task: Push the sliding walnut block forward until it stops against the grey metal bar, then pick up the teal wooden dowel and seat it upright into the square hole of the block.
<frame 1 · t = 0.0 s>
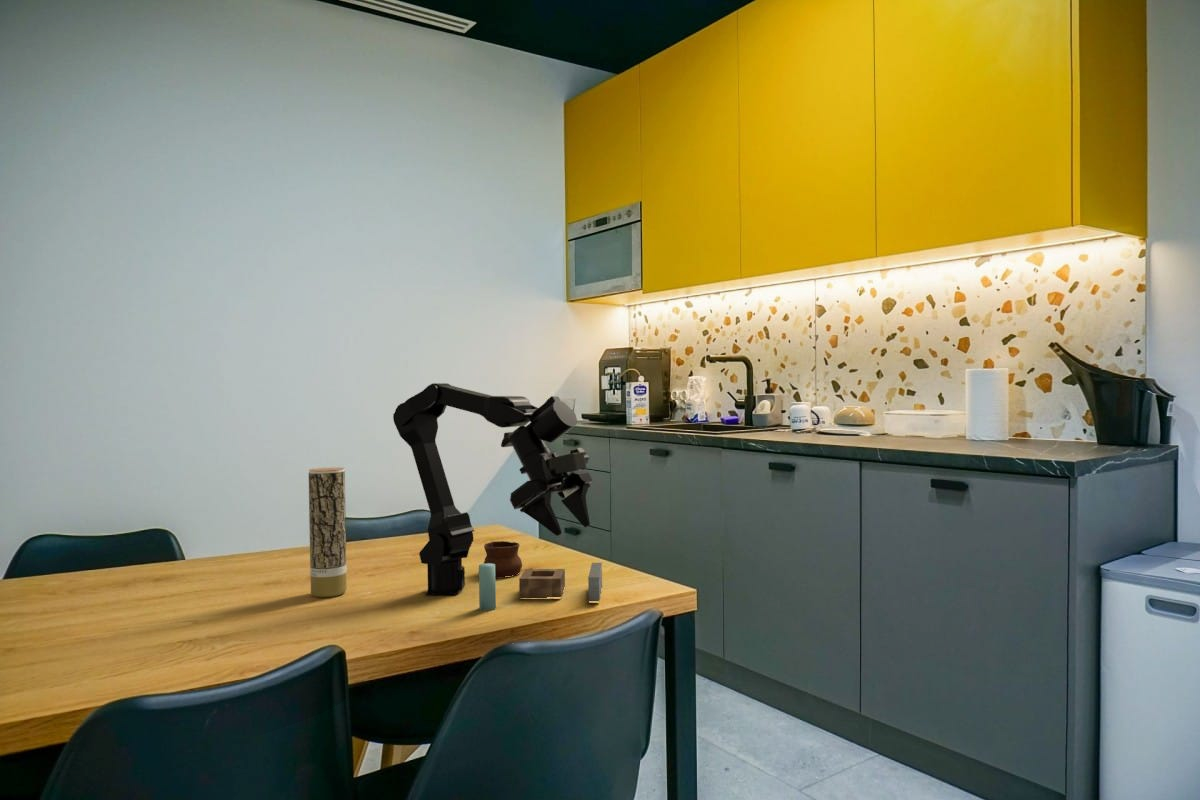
hand: (574, 530, 137), 15 cm above the table, tool tilted 35°, fingers open, 9 cm apart
block: (542, 583, 150), point 2 cm above the table, slide at 0.0 cm
ceramic pot: (502, 576, 168), on the table
dowel: (487, 608, 141), on the table
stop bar: (595, 595, 149), on the table
paper tube: (328, 595, 153), on the table
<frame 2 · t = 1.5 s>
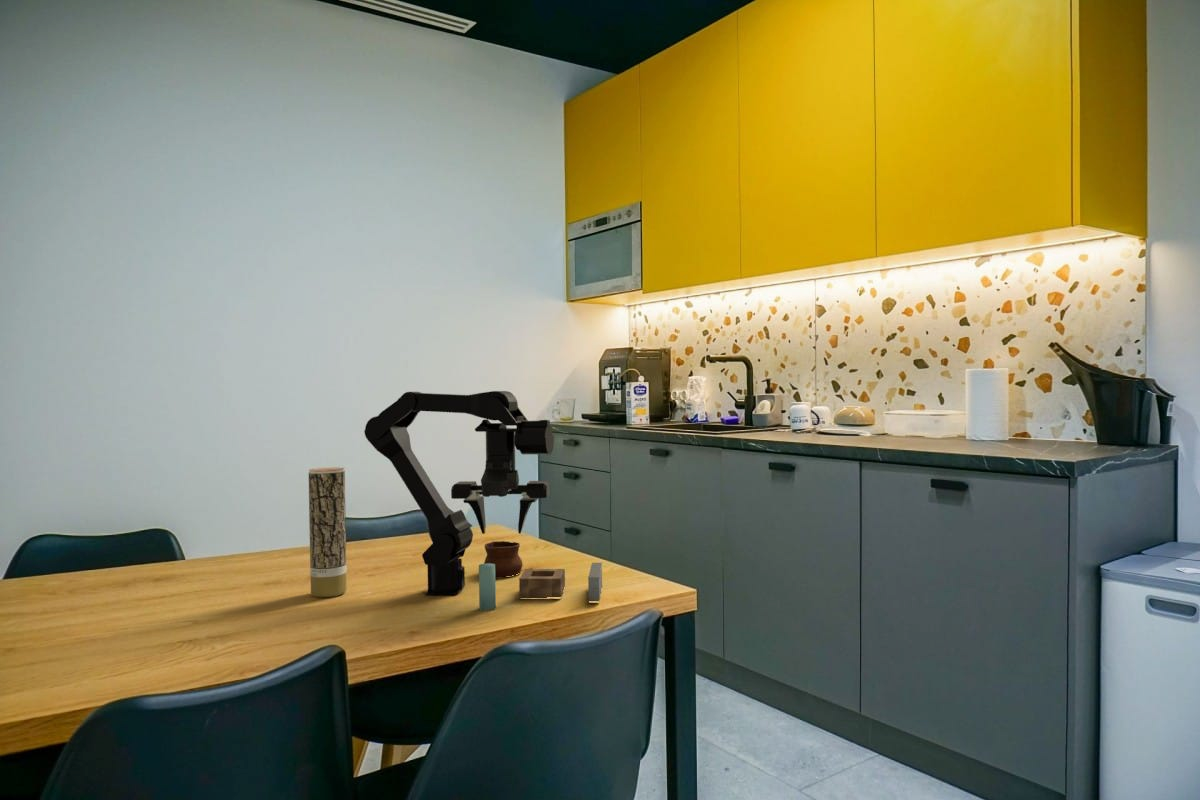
hand: (501, 533, 151), 12 cm above the table, tool pointing down, fingers open, 7 cm apart
nothing on the table moved.
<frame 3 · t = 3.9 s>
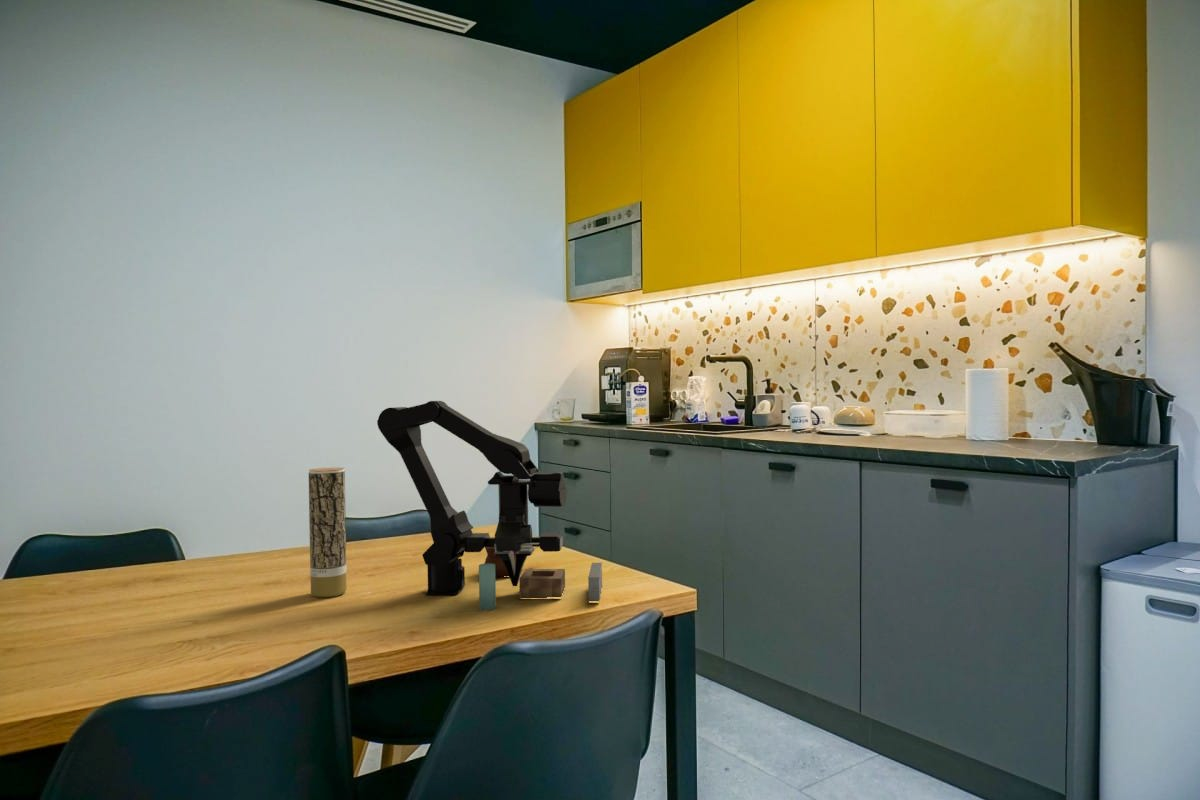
hand: (515, 585, 151), 2 cm above the table, tool pointing down, fingers closed
block: (542, 583, 150), point 2 cm above the table, slide at 0.0 cm, touching gripper
everything else where it was.
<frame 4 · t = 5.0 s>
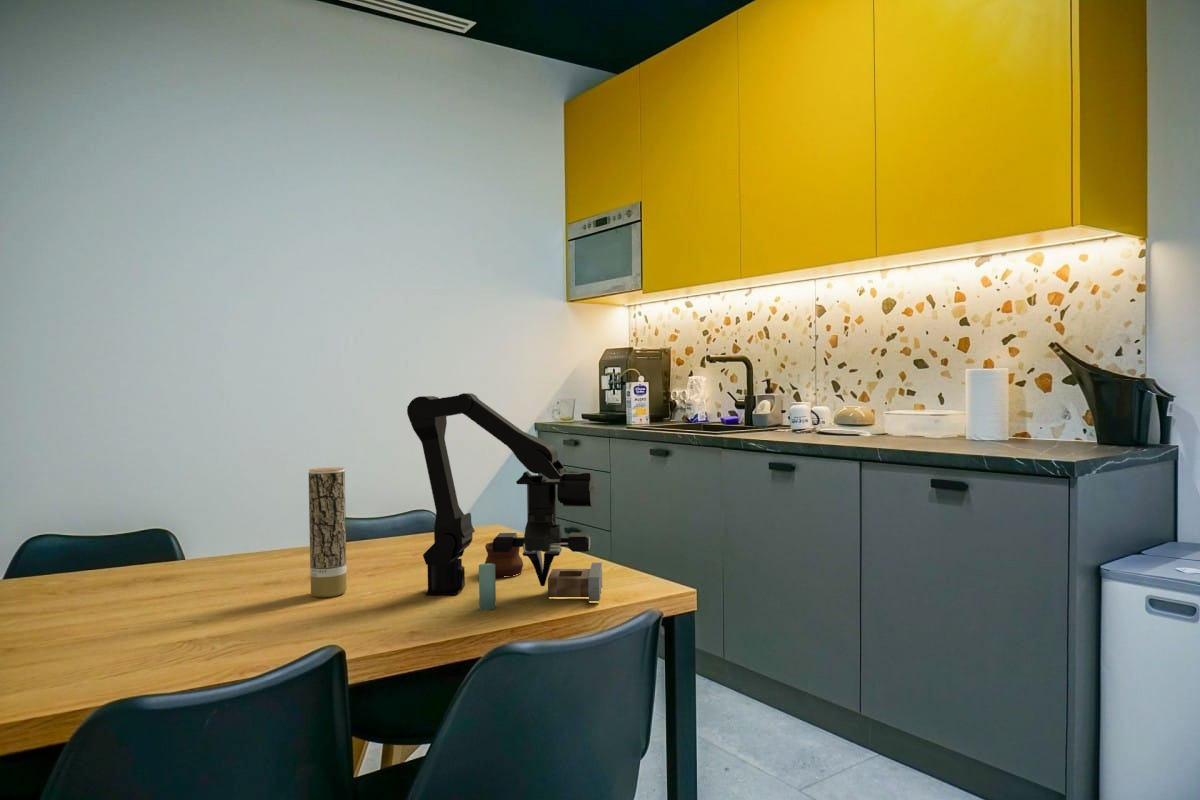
hand: (542, 585, 150), 2 cm above the table, tool pointing down, fingers closed
block: (570, 583, 150), point 2 cm above the table, slide at 5.5 cm, touching gripper, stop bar
everything else where it was.
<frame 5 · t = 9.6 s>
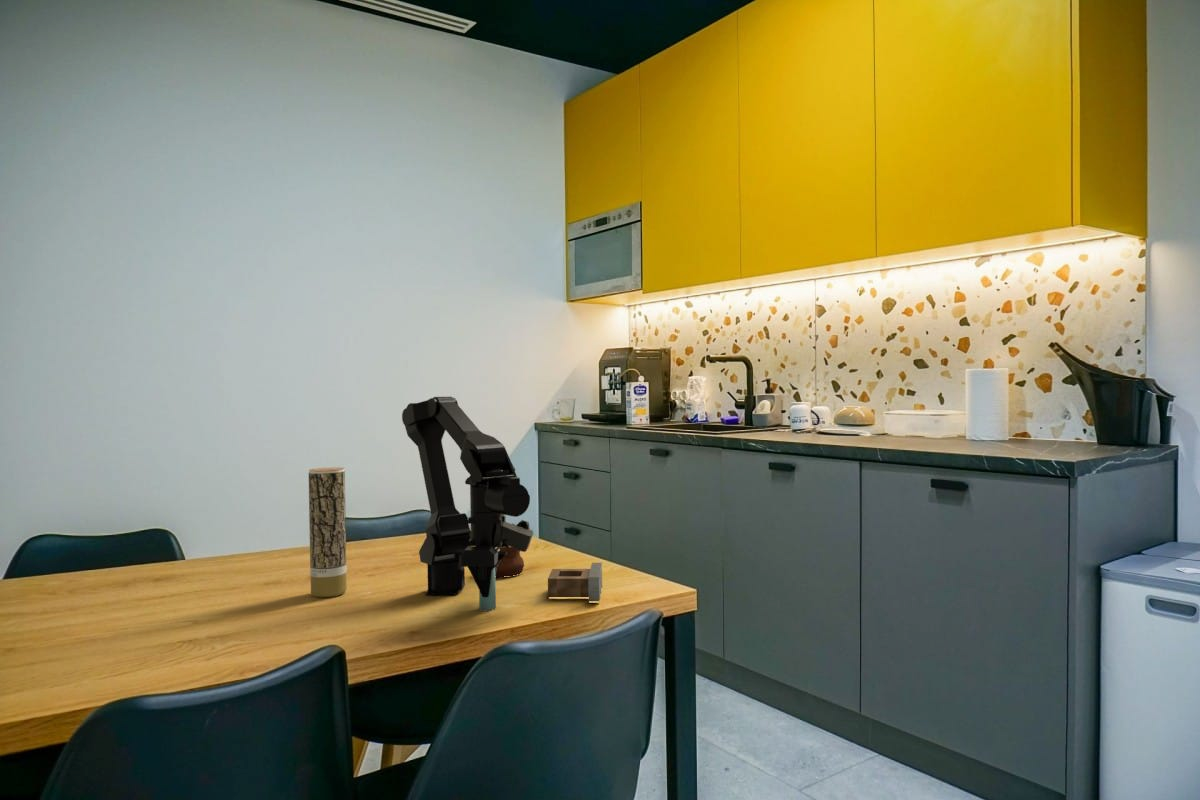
hand: (487, 594, 141), 3 cm above the table, tool pointing down, fingers closed on dowel, 3 cm apart
block: (570, 583, 150), point 2 cm above the table, slide at 5.5 cm, touching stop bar
dowel: (487, 608, 141), on the table, touching gripper
everything else where it was.
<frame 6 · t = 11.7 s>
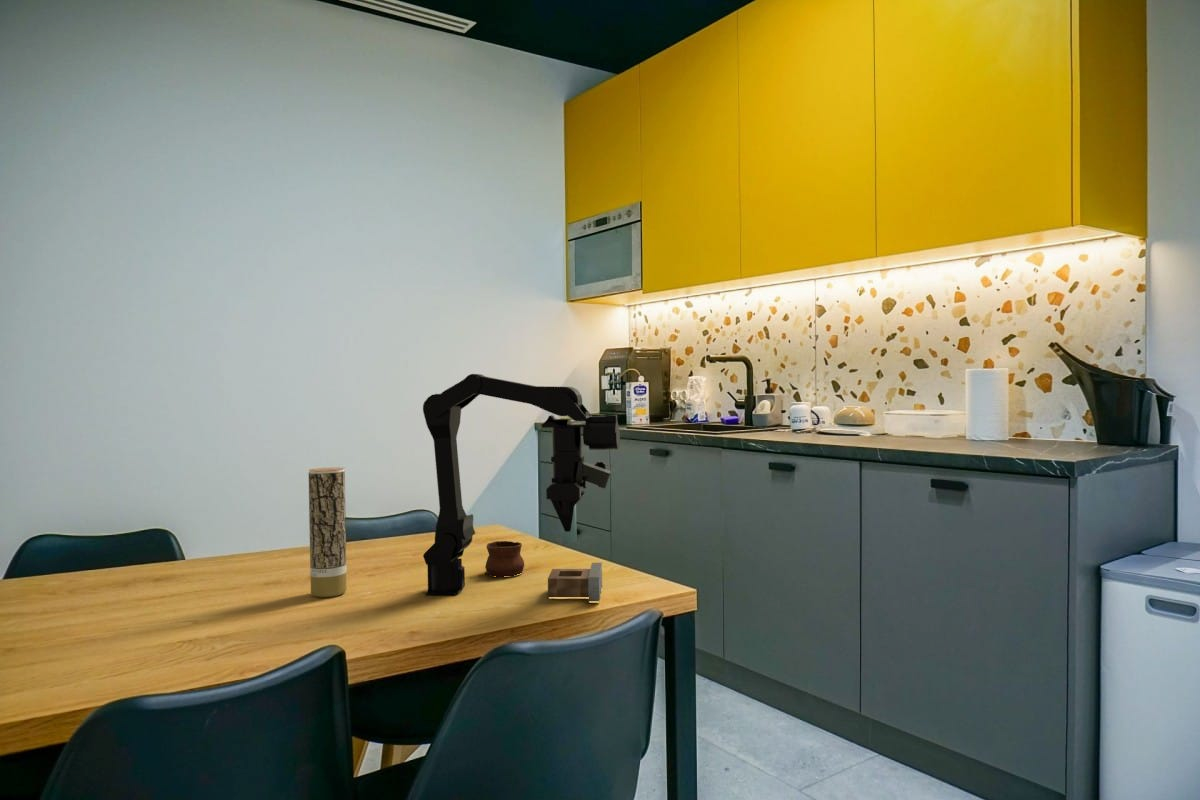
hand: (568, 529, 150), 13 cm above the table, tool pointing down, fingers closed on dowel, 3 cm apart
dowel: (569, 542, 150), point 10 cm above the table, touching gripper
everything else where it was.
when the fingers open (5 cm above the table, at t = 13.7 s): dowel drops 2 cm, resting in block.
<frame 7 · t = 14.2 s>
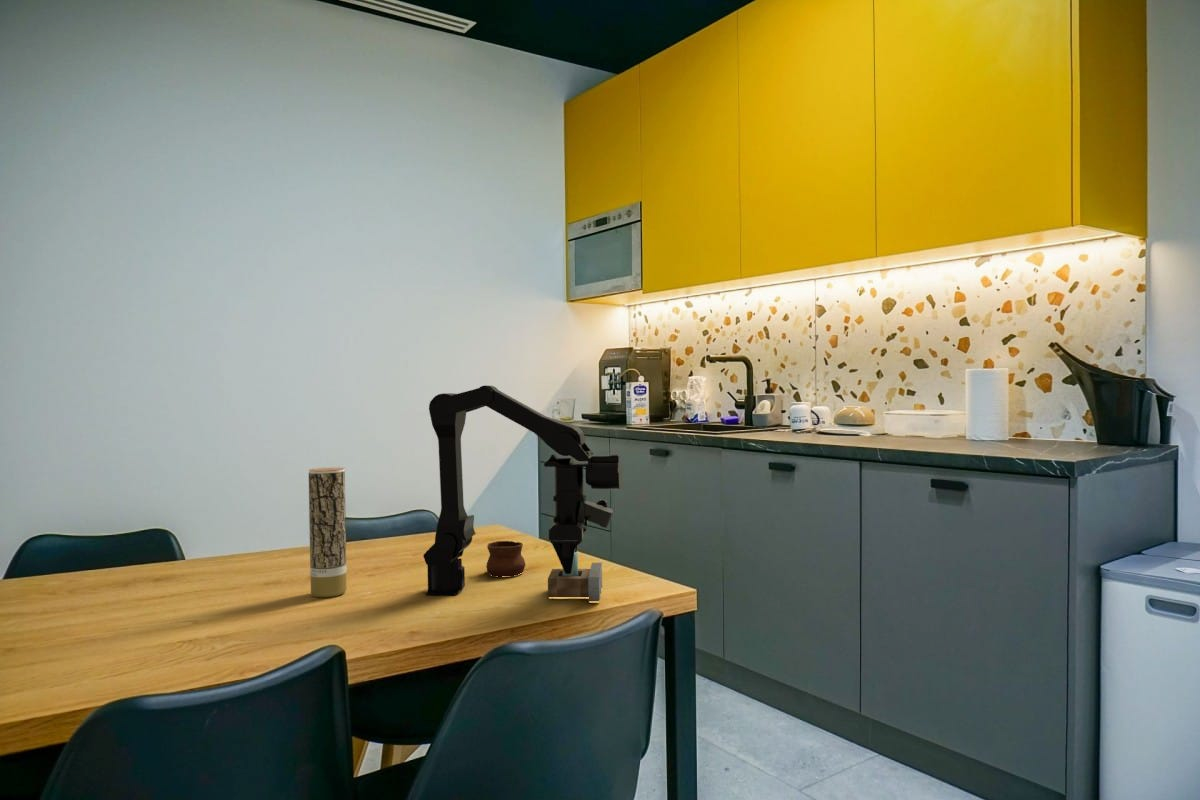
hand: (570, 568, 150), 5 cm above the table, tool pointing down, fingers open, 8 cm apart
dowel: (570, 593, 150), resting in block
everything else where it was.
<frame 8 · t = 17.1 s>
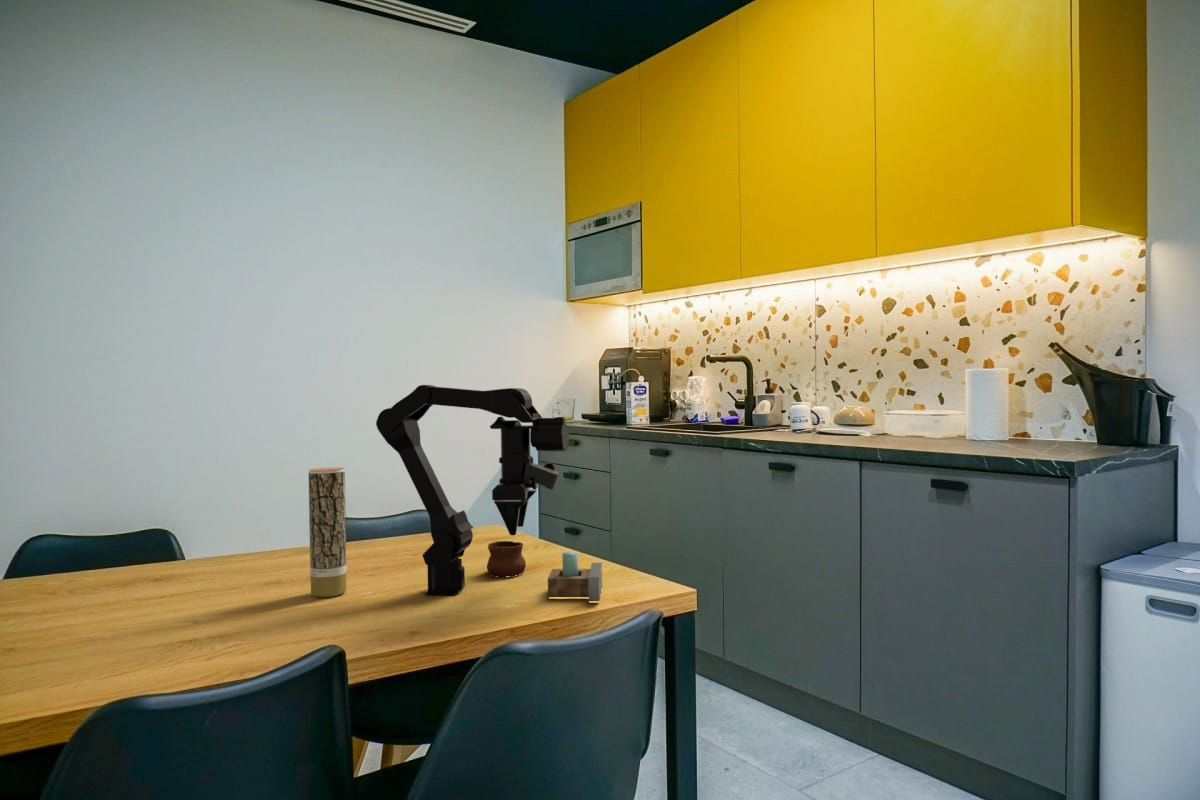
hand: (516, 530, 151), 13 cm above the table, tool pointing down, fingers open, 9 cm apart
nothing on the table moved.
at the end: block slide at 5.5 cm; dowel 0.0 cm from the block (horizontally); dowel resting in block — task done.
